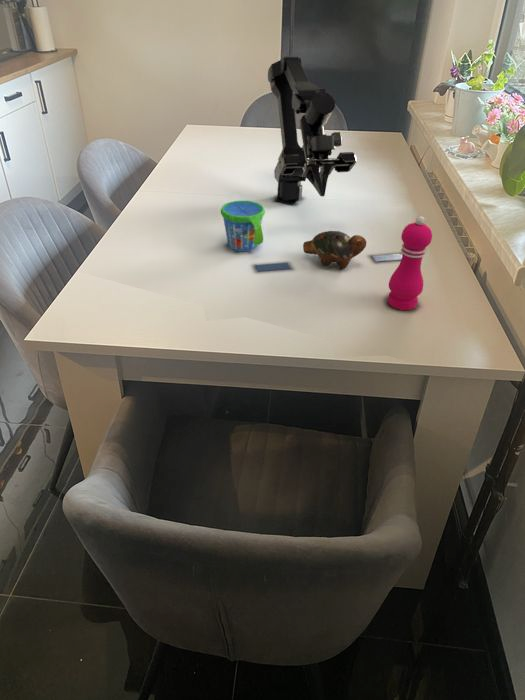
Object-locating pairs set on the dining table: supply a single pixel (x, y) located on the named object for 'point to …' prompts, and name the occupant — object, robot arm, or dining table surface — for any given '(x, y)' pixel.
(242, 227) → the snack cup
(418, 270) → the pepper mill
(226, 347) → the dining table surface
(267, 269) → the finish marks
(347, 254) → the decorative turtle
